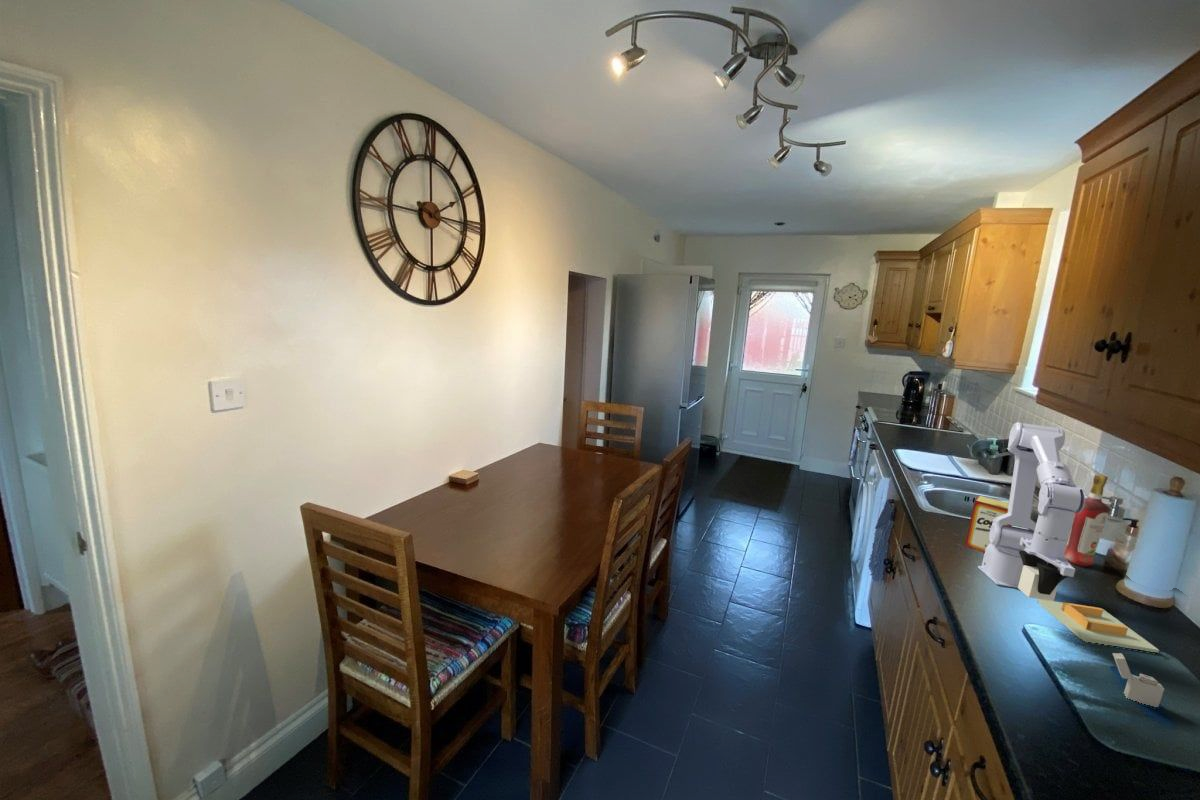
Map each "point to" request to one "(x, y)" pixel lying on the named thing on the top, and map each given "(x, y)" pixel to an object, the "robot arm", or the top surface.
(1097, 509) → the liquor
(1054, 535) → the robot arm
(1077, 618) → the deck
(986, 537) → the baking soda box
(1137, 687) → the lighter
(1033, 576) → the chute block
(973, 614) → the top surface
